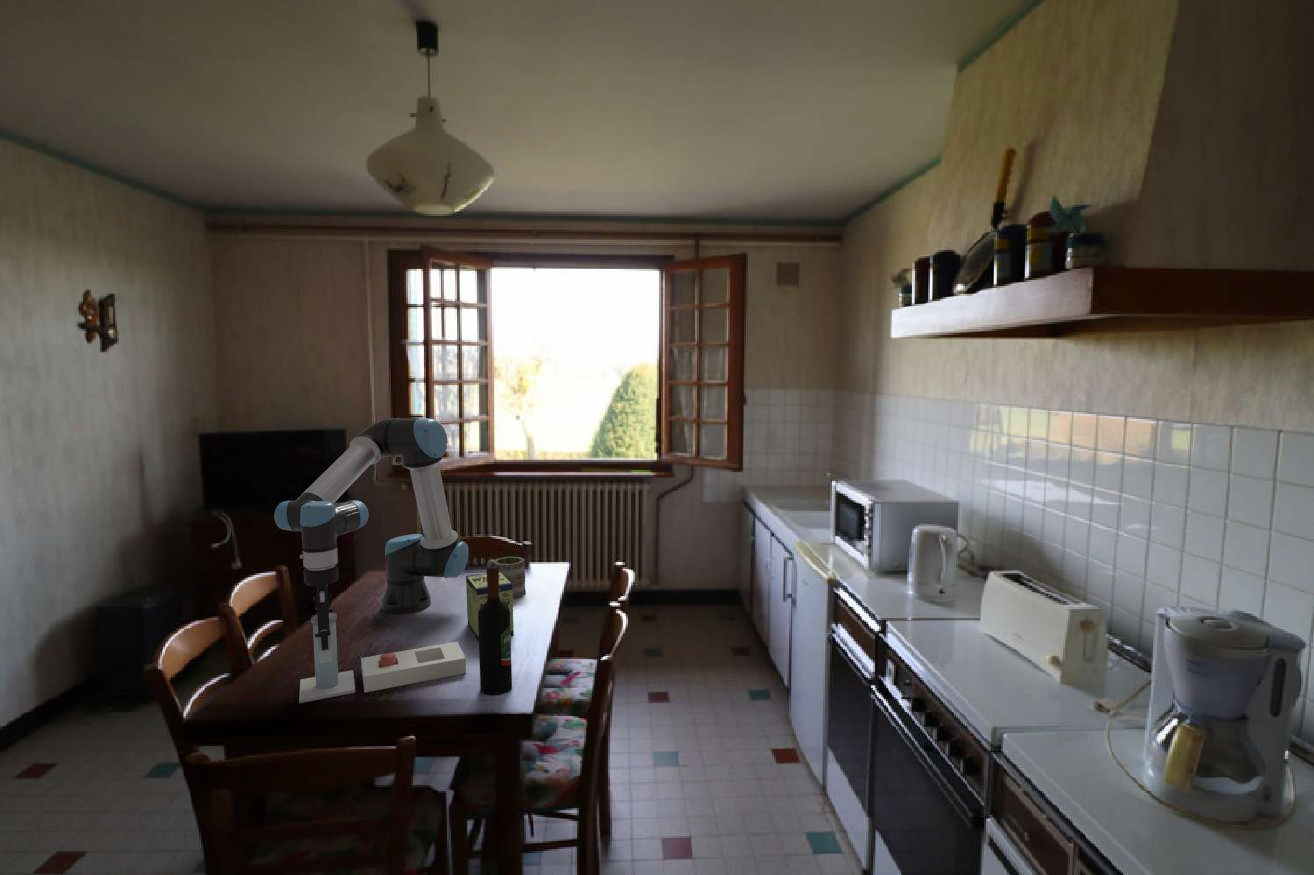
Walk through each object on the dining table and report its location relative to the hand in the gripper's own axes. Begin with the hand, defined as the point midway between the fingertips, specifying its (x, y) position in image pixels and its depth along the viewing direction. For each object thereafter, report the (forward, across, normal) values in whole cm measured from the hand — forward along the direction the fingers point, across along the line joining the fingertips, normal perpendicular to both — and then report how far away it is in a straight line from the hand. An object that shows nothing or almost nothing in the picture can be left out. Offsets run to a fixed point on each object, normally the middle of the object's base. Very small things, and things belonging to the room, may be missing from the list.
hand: (325, 651), depth 169 cm
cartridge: (+8, 0, 0) cm, 8 cm away
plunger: (+8, +1, +14) cm, 16 cm away
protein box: (+10, -20, +44) cm, 49 cm away
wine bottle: (+9, +19, +37) cm, 43 cm away
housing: (+9, +1, +20) cm, 22 cm away
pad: (+9, 0, 0) cm, 9 cm away
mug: (+10, -52, +56) cm, 77 cm away
